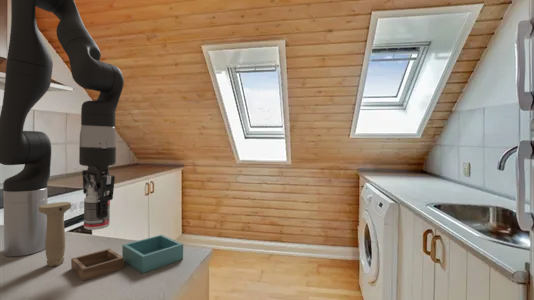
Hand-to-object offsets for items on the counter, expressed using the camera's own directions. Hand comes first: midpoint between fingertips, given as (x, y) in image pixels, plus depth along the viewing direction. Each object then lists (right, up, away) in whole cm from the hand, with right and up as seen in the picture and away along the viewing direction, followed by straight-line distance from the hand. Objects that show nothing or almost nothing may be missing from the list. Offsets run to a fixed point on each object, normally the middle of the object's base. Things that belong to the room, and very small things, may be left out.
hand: (97, 214), depth 68 cm
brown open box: (0, -13, 0) cm, 13 cm away
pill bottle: (0, -3, 0) cm, 3 cm away
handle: (-12, -13, +2) cm, 18 cm away
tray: (+11, -13, +6) cm, 18 cm away
